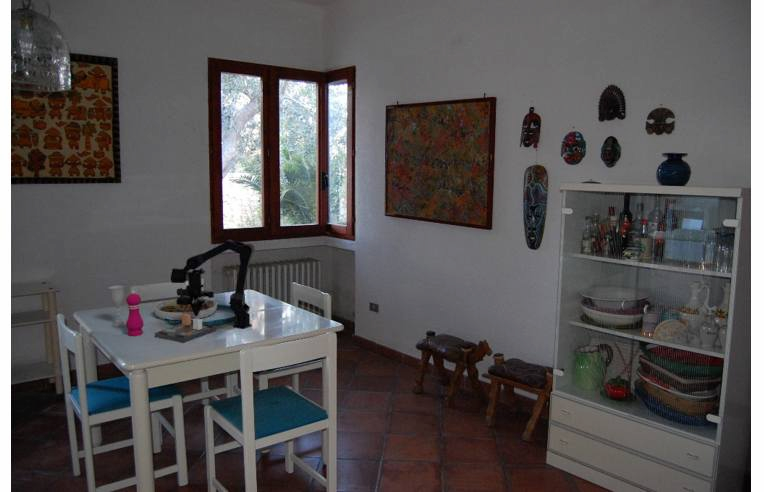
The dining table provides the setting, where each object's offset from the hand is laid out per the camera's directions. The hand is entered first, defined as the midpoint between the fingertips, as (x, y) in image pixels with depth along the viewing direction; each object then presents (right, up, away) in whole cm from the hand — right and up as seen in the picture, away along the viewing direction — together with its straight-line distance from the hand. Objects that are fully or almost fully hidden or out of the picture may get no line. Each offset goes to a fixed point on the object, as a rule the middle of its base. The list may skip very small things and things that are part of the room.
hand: (196, 315), depth 273 cm
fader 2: (+4, -4, -12) cm, 13 cm away
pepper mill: (-23, -7, -12) cm, 27 cm away
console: (-1, -7, -11) cm, 13 cm away
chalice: (-37, -5, +2) cm, 38 cm away
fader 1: (-3, -3, -5) cm, 7 cm away
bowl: (-12, -2, +22) cm, 25 cm away
